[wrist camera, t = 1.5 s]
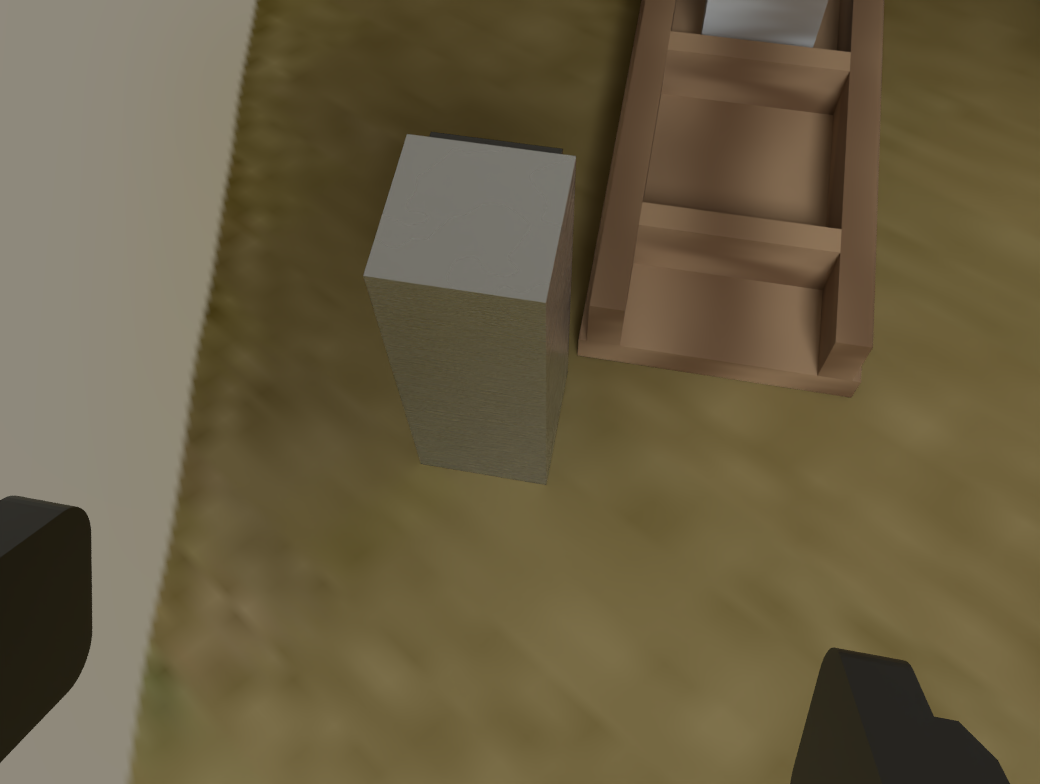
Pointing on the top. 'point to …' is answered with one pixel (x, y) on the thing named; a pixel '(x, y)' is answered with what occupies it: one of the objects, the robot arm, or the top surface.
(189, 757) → the top surface
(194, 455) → the top surface
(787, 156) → the brown wooden slotted rack
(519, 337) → the finger blank
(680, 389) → the top surface
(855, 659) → the robot arm
